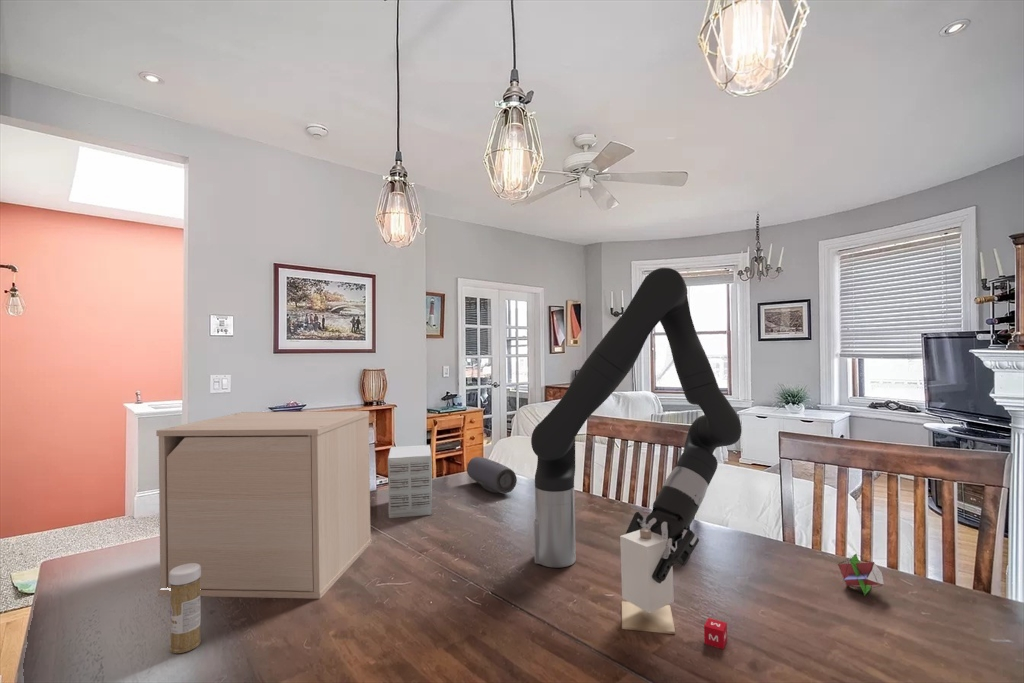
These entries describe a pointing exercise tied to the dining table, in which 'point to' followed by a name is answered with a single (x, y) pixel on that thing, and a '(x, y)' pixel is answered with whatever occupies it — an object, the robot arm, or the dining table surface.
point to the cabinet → (265, 501)
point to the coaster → (647, 619)
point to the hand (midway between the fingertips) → (640, 573)
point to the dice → (715, 633)
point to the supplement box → (410, 481)
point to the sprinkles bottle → (185, 607)
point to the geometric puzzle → (861, 574)
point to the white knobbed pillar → (644, 570)
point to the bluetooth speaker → (491, 475)
